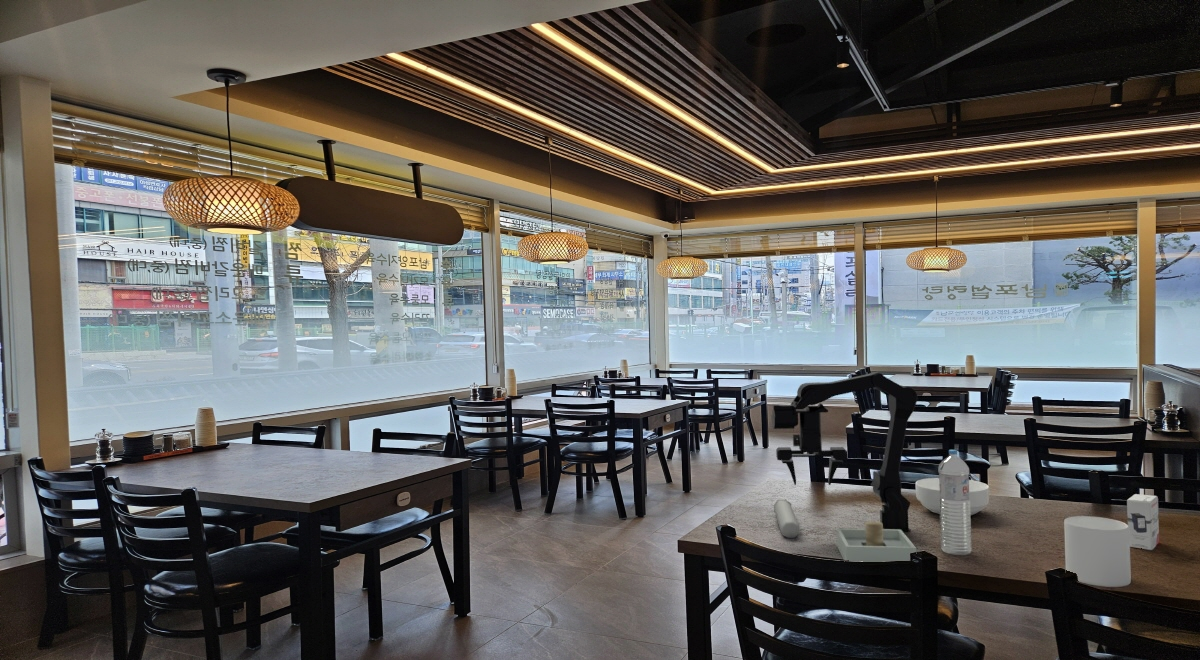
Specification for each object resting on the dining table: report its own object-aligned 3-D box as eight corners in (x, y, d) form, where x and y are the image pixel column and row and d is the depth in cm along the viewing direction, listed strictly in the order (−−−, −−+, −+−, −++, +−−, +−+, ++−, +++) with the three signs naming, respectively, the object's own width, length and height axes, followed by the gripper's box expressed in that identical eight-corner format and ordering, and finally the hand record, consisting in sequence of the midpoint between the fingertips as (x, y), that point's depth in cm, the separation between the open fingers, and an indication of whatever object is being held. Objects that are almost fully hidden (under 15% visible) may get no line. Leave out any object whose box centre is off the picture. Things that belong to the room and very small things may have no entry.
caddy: (901, 547, 186) (900, 529, 186) (916, 567, 170) (916, 547, 170) (837, 546, 188) (836, 528, 188) (846, 565, 173) (846, 546, 173)
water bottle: (957, 557, 176) (954, 453, 176) (934, 550, 183) (931, 449, 183) (978, 553, 179) (974, 450, 179) (954, 546, 185) (951, 447, 185)
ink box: (1135, 539, 186) (1134, 492, 186) (1160, 542, 183) (1158, 495, 183) (1127, 546, 180) (1126, 498, 180) (1152, 550, 177) (1151, 501, 177)
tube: (803, 525, 195) (794, 502, 220) (783, 518, 196) (776, 496, 221) (797, 544, 196) (788, 518, 220) (778, 537, 196) (771, 513, 221)
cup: (1126, 591, 152) (1125, 533, 152) (1061, 579, 159) (1059, 524, 159) (1134, 575, 160) (1132, 521, 160) (1071, 565, 168) (1069, 513, 168)
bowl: (1003, 513, 215) (1002, 484, 215) (966, 525, 204) (965, 495, 204) (939, 501, 231) (939, 475, 231) (902, 512, 220) (901, 484, 220)
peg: (881, 553, 181) (880, 521, 181) (885, 558, 177) (884, 525, 177) (864, 553, 182) (863, 521, 182) (867, 558, 178) (866, 525, 178)
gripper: (841, 424, 210) (842, 478, 210) (774, 425, 214) (776, 478, 214) (847, 429, 199) (849, 487, 199) (776, 430, 203) (778, 486, 203)
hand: (812, 484), depth 204 cm, fingers open, 9 cm apart
